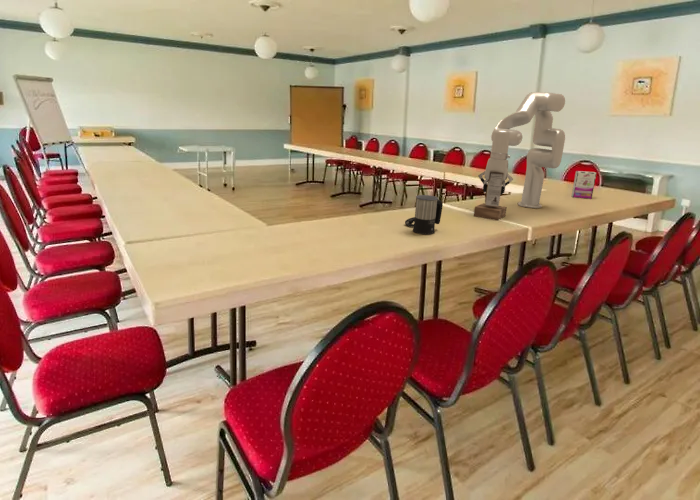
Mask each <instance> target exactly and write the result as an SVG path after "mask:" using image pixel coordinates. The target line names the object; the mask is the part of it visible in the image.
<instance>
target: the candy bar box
mask: <svg viewBox="0 0 700 500" xmlns="http://www.w3.org/2000/svg"><path fill="white" fill-rule="evenodd" d="M597 174H598V173H597V172H595V171H586V170H585V171H583V170H576V171H575V174H574V181H573V187H572V192H571V197H572V198H574V199H575V198H576V199H589V200H591V199H592V198H593V194H594V189H595V183H596V179H597Z"/></svg>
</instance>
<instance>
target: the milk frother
mask: <svg viewBox="0 0 700 500" xmlns="http://www.w3.org/2000/svg"><path fill="white" fill-rule="evenodd" d="M415 198H416V202H415V210H414V211H415V212H414V216H413V217H410V218H408V219H406V220H405V222H404V225H405V226H407V227H411V228H412V232H413V233H415V234H419V235H432V234H435V232H436V231H435V228H436V227H435V225H440V223H441V217H442V212H443V207H444V205H443V201H442V200H440V199H439V197H438V196H434V195H426V194H419V195H416V196H415Z"/></svg>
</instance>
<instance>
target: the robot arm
mask: <svg viewBox="0 0 700 500" xmlns="http://www.w3.org/2000/svg"><path fill="white" fill-rule="evenodd" d="M565 104H566V98H565V96H564V95H563V94H562V93H555V92H549V91H548V92H546V91H545V92H543V91H533V92H528V94H526V95H525V97H524V98H523V100H522V102H521V103H520V105H519V106H518V108H517V109H516V111H515V112H513V113H511V114H508V115H507V116H505V117H503V118H502V119H501V120H499V121H498V123H497V124H496V126H495V127H494V128H493V130H492V132H491V135H490V137H491V142H492V144H491V151H490V156H489V158H488V160H487V163H486V167H485V170H484V171H483V172H481V173H480V174H478V177H479V180H480V181H481V182H482V184H483V187H482V191H483V194H484V193H485V194H486V190H487V182H488V180H489V174H490V172H500V173H504V176H503V182H502V188H501V194H500V196H502V195H503V194H505V191H506V186H509V184H510V183H511V182H512V181H514V178H513V177H512V176H511V175H510V174H509V173H508V172H509V159H511V155H510V154H508V152H509V147H517V146H519V145H520V144H521V142H522V141H523V134H522V132H521V131H520V130H518V129H514V128H515V127H522V126H524V125H527V124H529V123H531V122H532V121H531V120H532V119H533V118H535V121H534V123H535V124H534V129H533V135H532V143H533V144H534V145H535V146H540V147H548V148H551V149H548V148H547V149H546V148H540V147H535V148H531V149H529V151H528V152H527V153H526V171H525V175H524V176H525V178H524V183H523V189H522V194H521V195H522V196H521V201H518V202H517V205H518V206H520V207H523V208H528V209H541V208H542V207H543V205H542V204H541V202H540V200H541V196H542V190H543V184H544V178H545V172H544V170H543V168H546V169H557V168H559V167H560V164H561V162H562V158H563V153H564V147H565V143H566V142H565V141H566V134H565V131H564V130H563V129H561V128H553V121H554V118H553V117H554V116H553V114H552V112H555V113H556V112H558V113H559V112H560V111H562V110H563V108H564V107H565ZM534 116H535V117H534ZM483 176H484V177H483ZM506 180H507V181H506Z"/></svg>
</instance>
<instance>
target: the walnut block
mask: <svg viewBox="0 0 700 500" xmlns="http://www.w3.org/2000/svg"><path fill="white" fill-rule="evenodd" d="M507 208H508V207H507V206H501V205H499V206H489V205H486V204H485V202H483V203H480V204H478V205H476V206H474V210H473V217H476V218H482V219H487V220H493V221H500V220H502V219H503V218H506V214H507ZM501 218H502V219H501ZM499 219H500V220H499Z"/></svg>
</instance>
